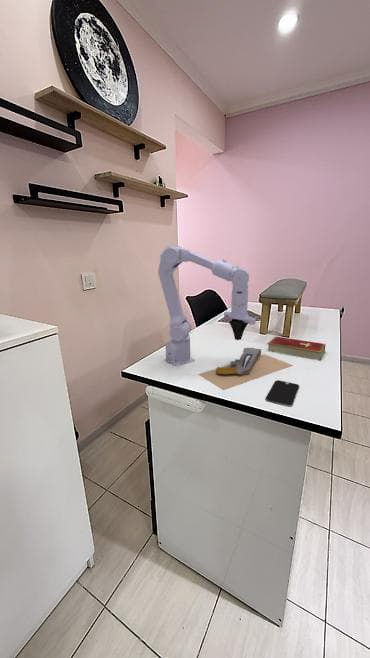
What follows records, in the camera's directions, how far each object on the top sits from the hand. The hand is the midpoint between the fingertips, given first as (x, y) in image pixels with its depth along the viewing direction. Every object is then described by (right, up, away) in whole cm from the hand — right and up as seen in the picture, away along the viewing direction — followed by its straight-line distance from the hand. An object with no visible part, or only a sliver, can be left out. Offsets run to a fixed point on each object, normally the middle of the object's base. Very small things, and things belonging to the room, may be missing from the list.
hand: (238, 339), depth 103 cm
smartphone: (+10, -16, -18) cm, 26 cm away
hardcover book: (+28, -6, +16) cm, 33 cm away
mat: (+3, -12, -1) cm, 12 cm away
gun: (-1, -8, +5) cm, 9 cm away
